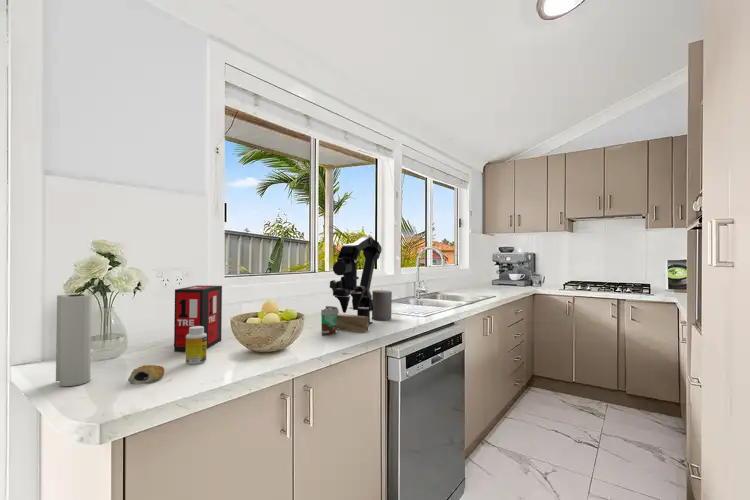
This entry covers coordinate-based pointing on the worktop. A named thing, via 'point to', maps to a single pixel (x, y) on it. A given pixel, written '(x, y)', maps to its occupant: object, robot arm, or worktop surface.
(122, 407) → the worktop surface
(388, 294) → the pillar candle
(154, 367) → the pastry
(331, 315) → the food container
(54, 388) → the worktop surface
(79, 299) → the grey tall cylinder
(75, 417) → the worktop surface
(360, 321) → the block
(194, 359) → the supplement bottle
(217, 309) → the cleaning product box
